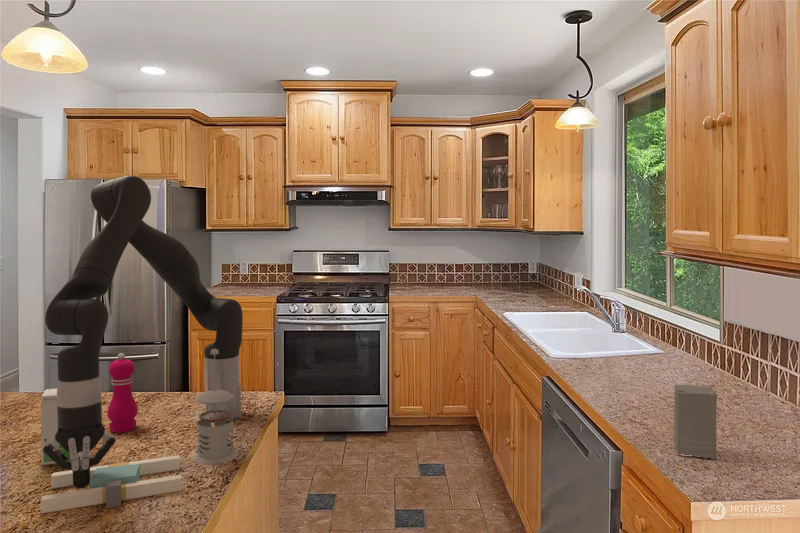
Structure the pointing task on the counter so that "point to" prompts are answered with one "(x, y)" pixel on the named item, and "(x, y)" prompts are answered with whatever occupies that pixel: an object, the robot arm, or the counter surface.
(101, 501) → the track
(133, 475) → the block
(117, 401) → the pepper mill
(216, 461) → the french press
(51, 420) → the skincare box
